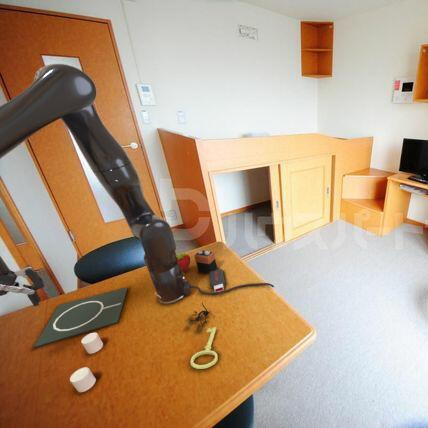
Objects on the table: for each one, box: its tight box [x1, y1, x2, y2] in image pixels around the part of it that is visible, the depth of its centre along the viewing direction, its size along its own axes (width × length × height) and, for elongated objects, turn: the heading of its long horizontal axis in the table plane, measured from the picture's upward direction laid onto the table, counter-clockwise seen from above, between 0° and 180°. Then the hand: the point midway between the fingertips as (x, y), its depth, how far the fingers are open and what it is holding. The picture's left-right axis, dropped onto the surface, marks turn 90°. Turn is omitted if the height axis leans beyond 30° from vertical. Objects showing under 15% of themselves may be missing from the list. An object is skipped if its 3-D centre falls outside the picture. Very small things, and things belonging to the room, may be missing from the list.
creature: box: [185, 301, 210, 333], centre depth 79 cm, size 8×5×8 cm
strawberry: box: [176, 251, 191, 272], centre depth 102 cm, size 6×8×10 cm
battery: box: [194, 249, 218, 275], centre depth 102 cm, size 4×7×10 cm, turn 78°
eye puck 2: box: [69, 366, 97, 393], centre depth 61 cm, size 4×4×4 cm
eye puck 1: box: [80, 332, 104, 355], centre depth 70 cm, size 4×4×4 cm
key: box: [189, 326, 219, 370], centre depth 71 cm, size 7×12×2 cm, turn 23°
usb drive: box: [208, 268, 226, 292], centre depth 97 cm, size 5×12×3 cm, turn 27°
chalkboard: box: [33, 287, 129, 349], centre depth 82 cm, size 20×18×1 cm
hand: (10, 314), depth 58 cm, fingers open, 8 cm apart
